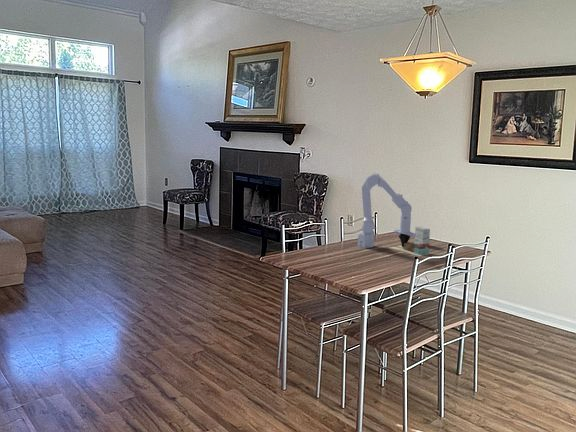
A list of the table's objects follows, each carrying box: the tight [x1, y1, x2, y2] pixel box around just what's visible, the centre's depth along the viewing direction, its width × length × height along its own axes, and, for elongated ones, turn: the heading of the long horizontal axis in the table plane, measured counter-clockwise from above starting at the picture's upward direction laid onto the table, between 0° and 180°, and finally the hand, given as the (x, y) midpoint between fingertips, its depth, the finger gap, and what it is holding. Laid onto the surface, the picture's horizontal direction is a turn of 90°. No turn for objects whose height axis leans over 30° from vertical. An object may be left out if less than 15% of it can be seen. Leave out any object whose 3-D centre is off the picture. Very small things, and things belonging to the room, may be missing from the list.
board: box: [388, 244, 433, 257], centre depth 291 cm, size 13×23×1 cm, turn 36°
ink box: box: [413, 226, 431, 248], centre depth 305 cm, size 9×5×12 cm, turn 22°
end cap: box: [414, 247, 430, 256], centre depth 284 cm, size 8×4×3 cm, turn 126°
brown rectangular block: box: [404, 241, 425, 252], centre depth 289 cm, size 12×4×4 cm, turn 36°
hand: (404, 247), depth 295 cm, fingers closed
